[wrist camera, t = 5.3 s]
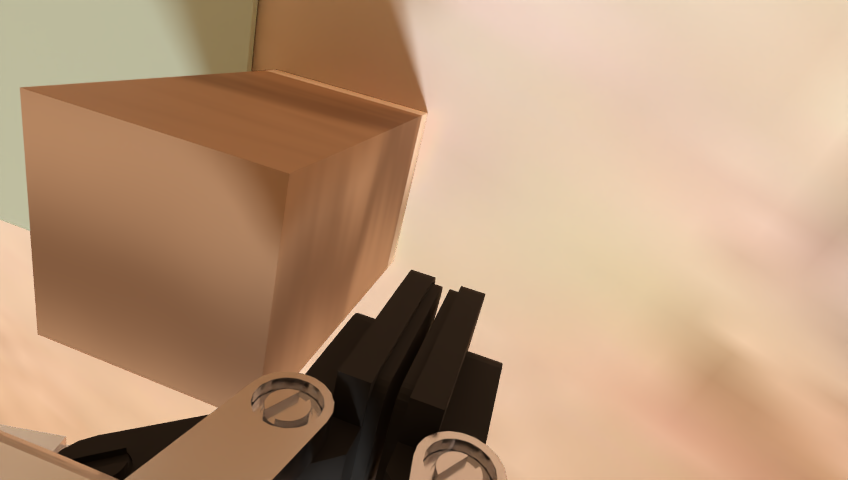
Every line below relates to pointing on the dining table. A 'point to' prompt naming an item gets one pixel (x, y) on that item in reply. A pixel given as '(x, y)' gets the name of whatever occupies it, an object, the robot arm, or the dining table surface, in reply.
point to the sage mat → (106, 57)
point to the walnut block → (210, 219)
